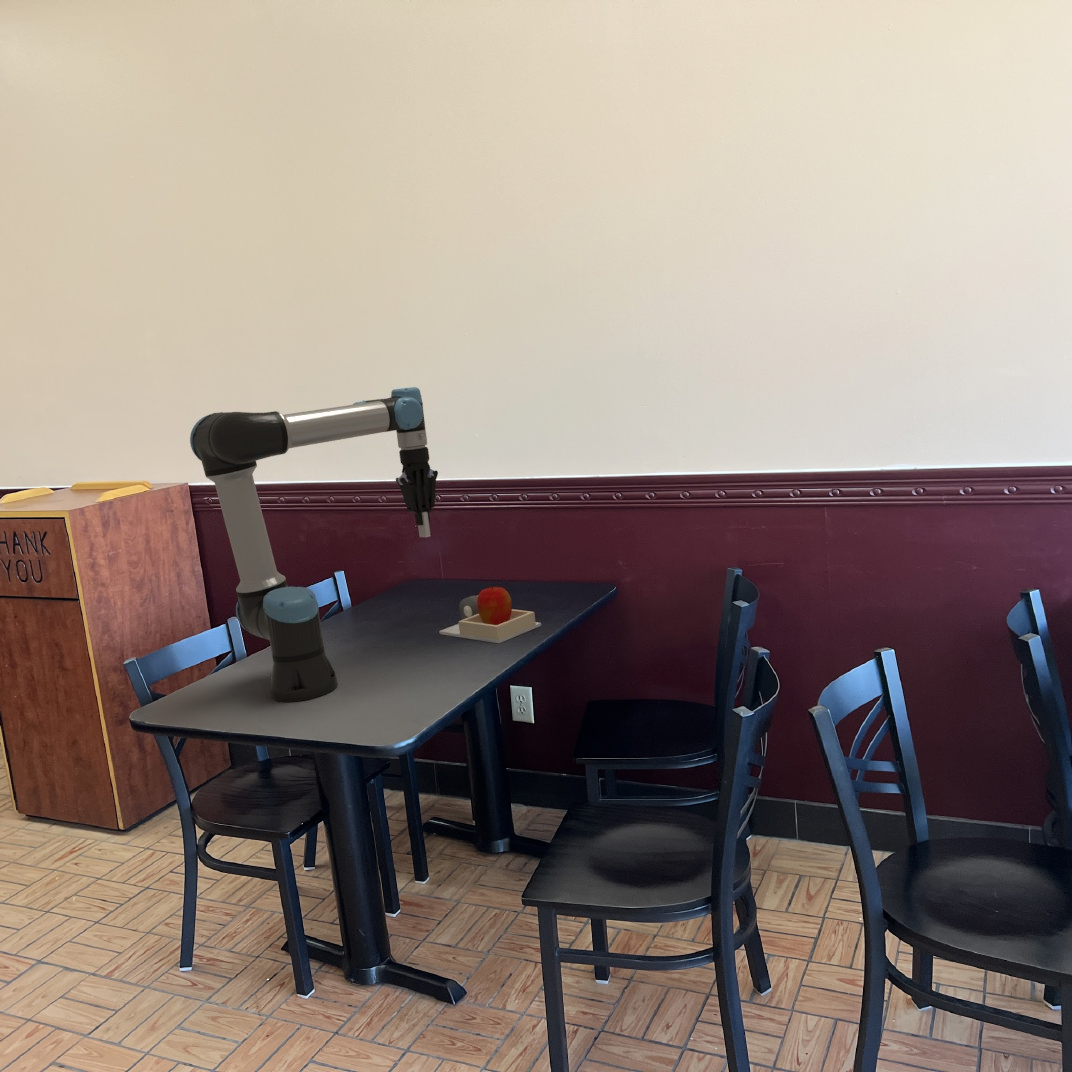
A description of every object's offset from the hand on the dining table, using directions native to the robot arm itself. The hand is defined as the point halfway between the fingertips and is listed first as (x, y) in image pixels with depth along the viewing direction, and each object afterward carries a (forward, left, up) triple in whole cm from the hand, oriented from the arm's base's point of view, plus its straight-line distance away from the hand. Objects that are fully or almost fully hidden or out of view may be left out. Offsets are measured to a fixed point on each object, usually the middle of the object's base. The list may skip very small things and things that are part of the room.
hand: (425, 536), depth 257 cm
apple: (+5, -17, -25) cm, 31 cm away
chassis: (+6, -14, -26) cm, 30 cm away
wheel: (+10, -7, -25) cm, 27 cm away
